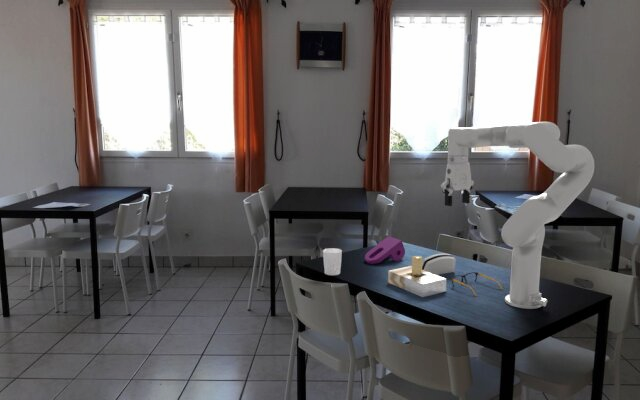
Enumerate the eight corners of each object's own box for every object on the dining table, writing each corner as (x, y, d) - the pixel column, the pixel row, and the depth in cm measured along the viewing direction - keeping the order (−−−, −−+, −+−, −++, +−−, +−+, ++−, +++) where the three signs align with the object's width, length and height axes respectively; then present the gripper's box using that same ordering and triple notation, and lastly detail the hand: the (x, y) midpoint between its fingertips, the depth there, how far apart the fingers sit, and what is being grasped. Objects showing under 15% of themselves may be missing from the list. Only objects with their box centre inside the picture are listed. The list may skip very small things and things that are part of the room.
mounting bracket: (379, 277, 235) (407, 255, 243) (373, 262, 232) (401, 240, 239) (366, 272, 243) (393, 250, 250) (360, 257, 240) (388, 236, 247)
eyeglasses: (475, 280, 212) (475, 271, 212) (503, 290, 200) (504, 280, 199) (449, 286, 206) (449, 276, 205) (476, 297, 193) (477, 287, 192)
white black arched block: (446, 268, 227) (452, 249, 223) (453, 274, 224) (459, 255, 219) (415, 274, 220) (420, 254, 216) (421, 280, 216) (427, 260, 212)
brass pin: (423, 287, 203) (424, 257, 201) (416, 289, 201) (416, 259, 199) (416, 284, 207) (417, 255, 205) (409, 286, 205) (409, 256, 203)
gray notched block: (446, 291, 199) (446, 278, 198) (422, 297, 193) (423, 284, 192) (427, 284, 207) (428, 271, 206) (404, 289, 201) (404, 277, 200)
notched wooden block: (427, 284, 207) (428, 271, 206) (404, 289, 201) (404, 277, 200) (410, 277, 216) (411, 265, 215) (388, 282, 209) (388, 270, 209)
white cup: (344, 274, 220) (344, 251, 218) (327, 277, 217) (327, 253, 216) (337, 269, 227) (337, 247, 226) (320, 271, 225) (320, 249, 223)
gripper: (449, 162, 191) (448, 208, 194) (481, 159, 200) (479, 203, 203) (434, 161, 197) (434, 205, 200) (465, 158, 207) (464, 200, 209)
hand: (457, 204), depth 202 cm, fingers open, 9 cm apart
